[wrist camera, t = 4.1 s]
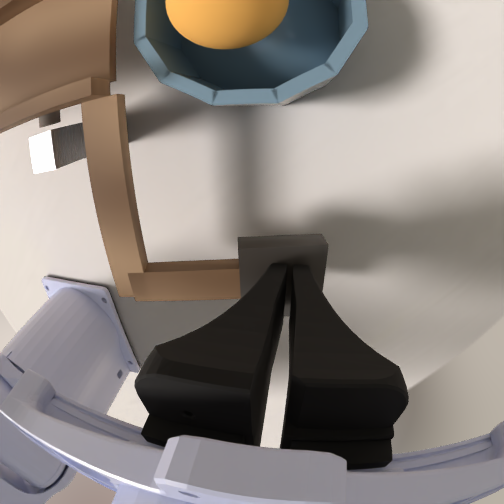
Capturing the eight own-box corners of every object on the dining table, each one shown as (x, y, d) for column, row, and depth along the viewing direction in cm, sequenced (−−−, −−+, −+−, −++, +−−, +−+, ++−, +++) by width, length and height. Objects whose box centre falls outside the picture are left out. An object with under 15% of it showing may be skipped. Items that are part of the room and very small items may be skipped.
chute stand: (127, 143, 13) (55, 169, 9) (105, 147, 14) (34, 173, 9) (127, -26, 8) (64, -53, 3) (104, -16, 8) (40, -36, 4)
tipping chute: (311, 292, 14) (329, 341, 11) (-22, 293, 13) (-45, 322, 10) (315, -45, 6) (340, -82, 3) (-65, 80, 5) (-98, 88, 2)
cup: (349, 109, 11) (369, 109, 8) (178, 110, 12) (135, 115, 9) (341, -34, 7) (352, -74, 4) (178, -25, 8) (141, -53, 5)
